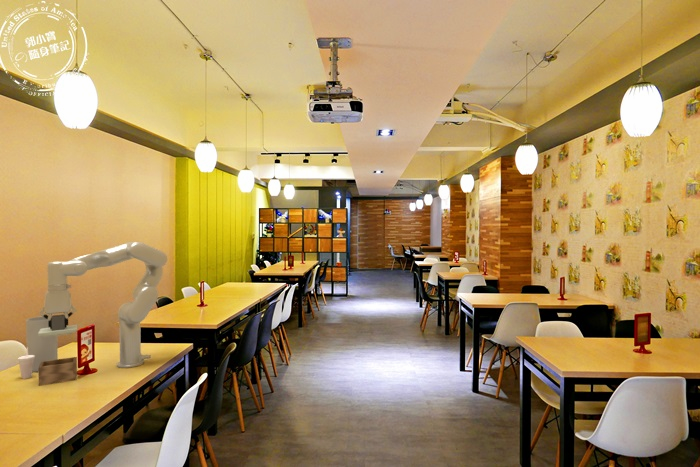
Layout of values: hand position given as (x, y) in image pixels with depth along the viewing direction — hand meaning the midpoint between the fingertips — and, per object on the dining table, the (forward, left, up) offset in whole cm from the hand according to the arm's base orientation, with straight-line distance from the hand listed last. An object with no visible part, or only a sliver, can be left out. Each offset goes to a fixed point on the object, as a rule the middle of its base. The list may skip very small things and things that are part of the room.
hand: (58, 327), depth 198 cm
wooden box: (0, 0, -24) cm, 24 cm away
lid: (0, 0, -3) cm, 3 cm away
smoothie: (+13, -11, -24) cm, 30 cm away
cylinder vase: (+8, -24, -24) cm, 35 cm away
